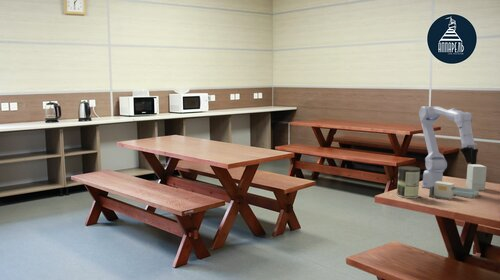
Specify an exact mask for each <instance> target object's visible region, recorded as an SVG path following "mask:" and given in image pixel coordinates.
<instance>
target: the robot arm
mask: <svg viewBox="0 0 500 280" xmlns="http://www.w3.org/2000/svg"><path fill="white" fill-rule="evenodd" d="M418 116H419V119H420V123H421V128H422V132H423V133H422V134H423V136H424V140H425V144H426V149H427V150H426V151H427V153H428V155H427V156H426V157H425V158H424V161H425V170H424V171H423V174H422V185H421V187H422V188H426V189H430V187H431V186H433V185H434V184H435V182H437V181H441V182H443V176H444V174H443V173H444V172H445V170H447V167H448V162H447V159H446V158H445V156H444V155H443V154H442V153H441V152H440V150H439V147H438V142H437V138H436V135H435V129H434V126H433V125H434V123H436V122H437V120H439V118H440V116H443V117H446V119H447V120H449V121H452V122H454V123H455V124H456V126H457V128H458V131H459V137H460V142H461V148H459V151H460V152H461V154H462V155H463V157H464V159H465V162H466V164H477V159H478V157H477V156H478V154H479V148H475V147H476V146H478V143H477V142H475V138H474V133H473V130H472V129H473V128H472V124H471V123H472V121H473V115H472V113H471V112H469V111H465V112H464V111H463V110H458V109H456V108H455V107H452V108H450V109H446V108H443V107H441V106H438V105H436V106H425V105H423V106H421V107H420V109H419V111H418Z"/></svg>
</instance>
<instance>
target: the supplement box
mask: <svg viewBox="0 0 500 280" xmlns="http://www.w3.org/2000/svg"><path fill="white" fill-rule="evenodd" d="M487 168H488V167H487V166H485V165H482V164H477V163H476V164H471V163H467V170H466V183H465V187H466V189H473V190H479V191H485V190H486V184H487V183H486V182H487V181H486V180H487V170H488V169H487Z"/></svg>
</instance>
